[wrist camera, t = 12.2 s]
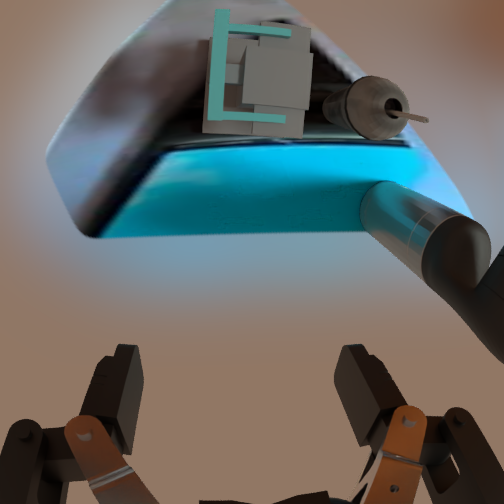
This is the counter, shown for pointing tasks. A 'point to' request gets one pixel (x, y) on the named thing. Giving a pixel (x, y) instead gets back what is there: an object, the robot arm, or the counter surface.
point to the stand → (265, 83)
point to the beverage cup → (370, 108)
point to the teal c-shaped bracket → (219, 67)
